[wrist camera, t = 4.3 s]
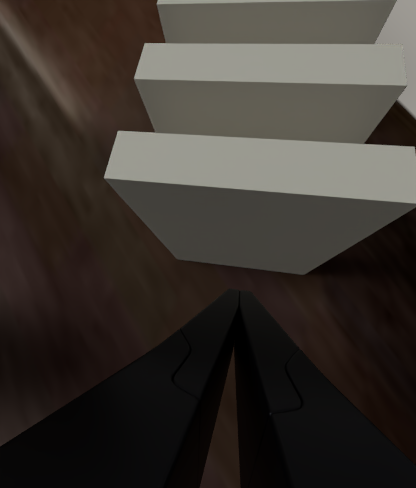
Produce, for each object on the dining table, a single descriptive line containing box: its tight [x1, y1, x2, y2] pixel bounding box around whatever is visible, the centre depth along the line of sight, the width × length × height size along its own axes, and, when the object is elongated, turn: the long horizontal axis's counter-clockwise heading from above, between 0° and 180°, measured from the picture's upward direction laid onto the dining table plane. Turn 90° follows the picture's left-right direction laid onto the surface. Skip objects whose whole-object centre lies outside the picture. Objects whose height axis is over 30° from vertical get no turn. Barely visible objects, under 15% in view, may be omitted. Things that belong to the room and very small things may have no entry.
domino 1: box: [104, 131, 416, 275], centre depth 14 cm, size 2×10×12 cm, turn 82°
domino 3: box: [157, 0, 397, 44], centre depth 16 cm, size 2×10×12 cm, turn 82°
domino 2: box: [134, 43, 407, 144], centre depth 15 cm, size 2×10×12 cm, turn 82°
